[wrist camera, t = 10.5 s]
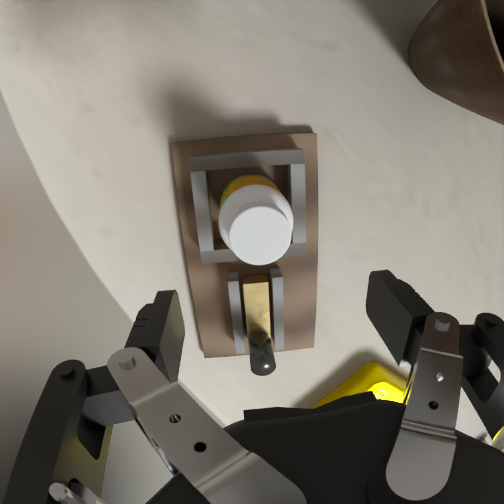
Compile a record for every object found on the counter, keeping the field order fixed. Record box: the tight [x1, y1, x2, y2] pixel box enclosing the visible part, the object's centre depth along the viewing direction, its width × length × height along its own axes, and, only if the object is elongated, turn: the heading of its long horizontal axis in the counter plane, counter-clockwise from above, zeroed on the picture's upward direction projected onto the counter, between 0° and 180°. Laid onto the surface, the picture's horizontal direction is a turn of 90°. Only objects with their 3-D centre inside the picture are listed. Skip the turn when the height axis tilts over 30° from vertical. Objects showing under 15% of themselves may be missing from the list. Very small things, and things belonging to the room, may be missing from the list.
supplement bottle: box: [219, 173, 293, 265], centre depth 24 cm, size 5×5×10 cm
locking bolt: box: [242, 275, 276, 376], centre depth 30 cm, size 8×2×6 cm, turn 4°
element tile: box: [310, 362, 407, 409], centre depth 41 cm, size 15×15×5 cm
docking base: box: [171, 133, 318, 358], centre depth 30 cm, size 24×13×3 cm, turn 4°
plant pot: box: [409, 0, 504, 125], centre depth 17 cm, size 15×15×16 cm
